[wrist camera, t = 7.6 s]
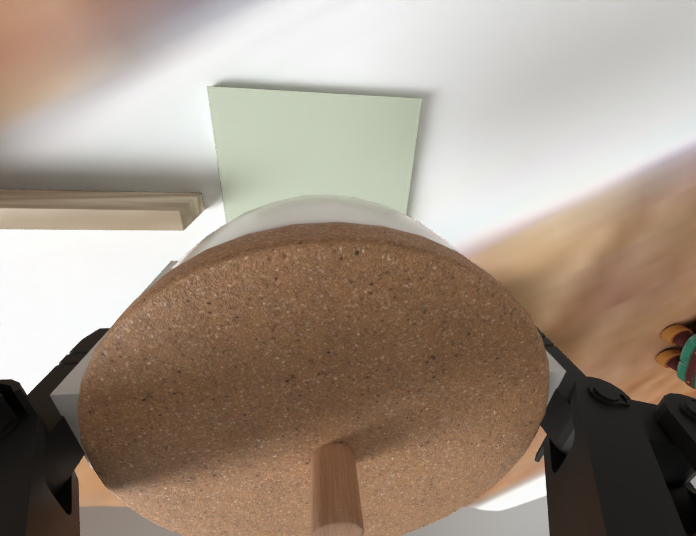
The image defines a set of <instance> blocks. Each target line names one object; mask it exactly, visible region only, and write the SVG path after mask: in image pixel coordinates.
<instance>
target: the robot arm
mask: <svg viewBox="0 0 696 536" xmlns="http://www.w3.org/2000/svg"><path fill="white" fill-rule="evenodd" d="M177 262H178V261H171V262H170V263H169V264H168V265H167V266H166V267H165V268H164V270H163V271H162V272H161V273H160V274H159V275H158V276H157V277H156V278H155V279H154V281H153V282H152V283H151V284H150V285H149V286H148V287H147V288H146V289H145V290H144V292H145V291H146V290H147V289H149V288H150V287H151V286H152V285H153V284H155V283H156V282H157V281H158V280H159V279H160V278H162V277H163V276H164V275H165V274H166V273H167V272H168V271H169V270H170V269H171V268H172V267H173V266H174V265H175V264H176V263H177ZM144 292H143V293H144ZM143 293H142V294H143ZM142 294H141V295H142ZM536 328H537V327H536ZM110 329H111V328H103V329H98V330H97V331H95V332H93V333H92V334H90V335H89V336H87V337H85V338H84V339H82V340H81V341H80V342H79V343H78V344H77V345H76V346H75V347H74V348H73V349H72V350H71V351H70V354H69V355H66V356H65V357H64V358H63V359H62V360H61V361H60V363H59V366H56V367H55V368H54V369H53V370H52V371H51V372H50V373H49V374H48V375H47V376H46V377H45V378H44V379H43V380H42V381H41V382H40V383H39V384H38V385H37V386H36V387H35V388H34V389H33V390H32V391H31V392H30V393H29V394H28V395H27V394H26V393H25V391H24V389H23V388H22V386H21V385H20V383H19V382H17V381H14V380H12V379H8V380H0V536H80V521H79V484H78V478H77V475H76V473H75V471H74V470H75V468H76V467H77V465H78V464H79V462H80V460H81V459H82V457H83V456H85V458H86V459H87V461H88V463H89V465H90V466H91V464H90V462H89V459H88V457H87V455H86V453H85V450H84V448H83V446H82V444H81V440H80V431H79V422H78V413H77V405H78V398H79V391H80V384H81V379H82V377H83V374H84V372H85V370H86V368H87V365H88V363H89V361H90V358H91V356H92V354H93V352H94V349H95V348H96V347H97V346H98V344H99V343H100V342H101V340H102V339H103V338H104V336H105V335H106V334H107V333H108V331H109V330H110ZM537 330H538V331H539V333H540V335H541V337H542V340H543V343H544V347H545V350H546V354H547V357H548V361H549V396H548V401H547V407H546V412H545V415H544V418H543V420H542V422H541V424H540V425H541V427H542V428H543V429H544V431H545V432H546V434H547V436H546V437H545V439H544V441H543V443H542V445H541V447H540V448H539V450H538V452H537V454H536V457H535V461H537V462H539V461H540V460H541V458H542V456H543V455H544V462H545V476H546V490H547V504H548V518H549V531H550V536H696V489H695V488H694V486H693V485H692V484H691V483H690V481H691V480H692V479H693V478H694V477H695V476H696V399H695V398H692V397H689V396H685V395H682V394H674V393H670V394H667V395H665V396H664V397H663V398H662V400H661V401H660V402H659V404H658V405H655V404H650V403H645V402H640V401H635V400H631V399H630V397H628V396H627V395H626V394H625V393H624V392H623V391H622V390H620V389H619V388H617V387H616V386H614V385H612V384H611V383H608V382H606V381H604V380H601V379H598V378H594V377H586V376H585V375H584V374H583V373H582V372H581V371H580V370H579V369H578V368H577V367H576V366H575V365H574V364H573V363H572V362H571V361H570V360H569V359H568V358H567V357H566V356H565V355H564V354H563V353H562V352H561V351H560V350H559V349H558V348H557V347H556V346H554V344H553V343H552V342H551V341H550V340H549V339H548V338H545V335H544V334H543V333H542V332H541V331H540V330H539V329H538V328H537ZM91 468H92V466H91Z"/></svg>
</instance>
